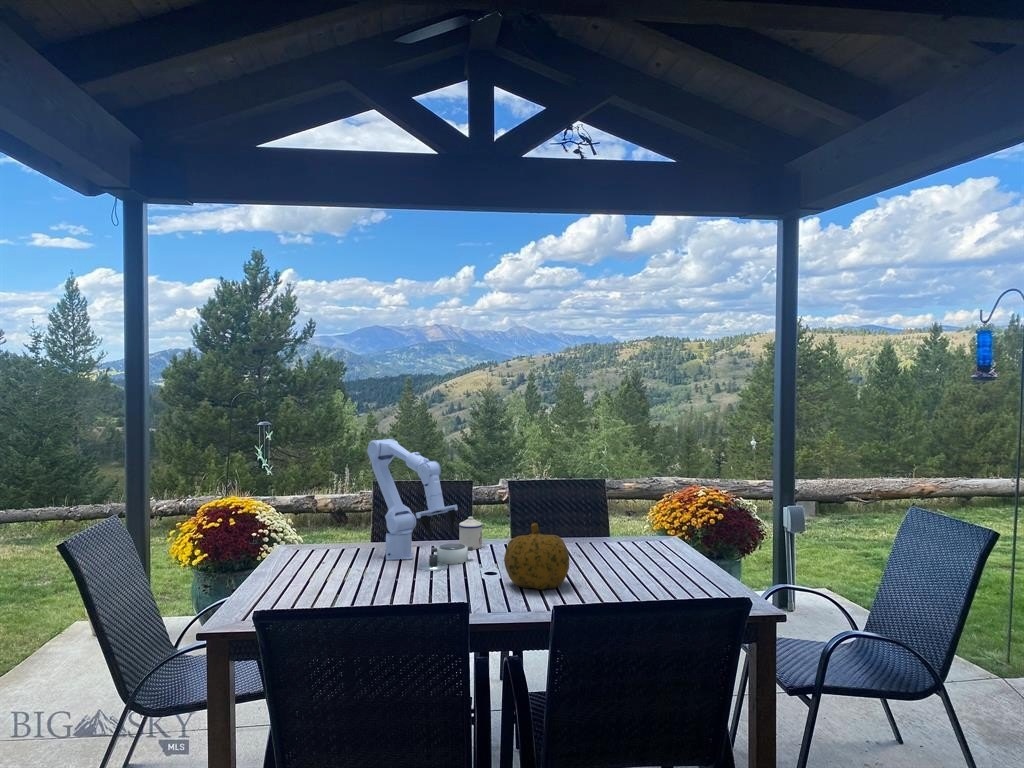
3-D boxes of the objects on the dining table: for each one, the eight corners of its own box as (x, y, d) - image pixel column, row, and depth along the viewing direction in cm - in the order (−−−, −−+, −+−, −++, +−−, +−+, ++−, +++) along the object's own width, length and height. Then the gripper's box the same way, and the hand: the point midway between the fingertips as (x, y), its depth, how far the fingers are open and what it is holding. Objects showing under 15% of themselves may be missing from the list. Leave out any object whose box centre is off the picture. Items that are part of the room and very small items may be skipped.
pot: (432, 565, 254) (432, 550, 254) (431, 557, 265) (431, 543, 265) (474, 563, 256) (474, 549, 256) (471, 556, 267) (471, 542, 267)
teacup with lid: (484, 549, 278) (484, 518, 278) (461, 550, 275) (461, 519, 275) (477, 542, 289) (477, 512, 289) (455, 543, 287) (455, 514, 287)
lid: (418, 572, 245) (418, 559, 245) (418, 565, 255) (418, 552, 255) (448, 571, 246) (448, 558, 246) (447, 564, 256) (447, 551, 256)
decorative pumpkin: (553, 596, 214) (550, 527, 216) (494, 591, 226) (491, 526, 227) (584, 583, 231) (580, 519, 233) (527, 579, 243) (524, 518, 244)
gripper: (416, 499, 248) (424, 539, 246) (457, 491, 253) (464, 530, 251) (412, 500, 254) (419, 539, 252) (451, 492, 260) (458, 531, 258)
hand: (441, 535), depth 252 cm, fingers open, 7 cm apart
